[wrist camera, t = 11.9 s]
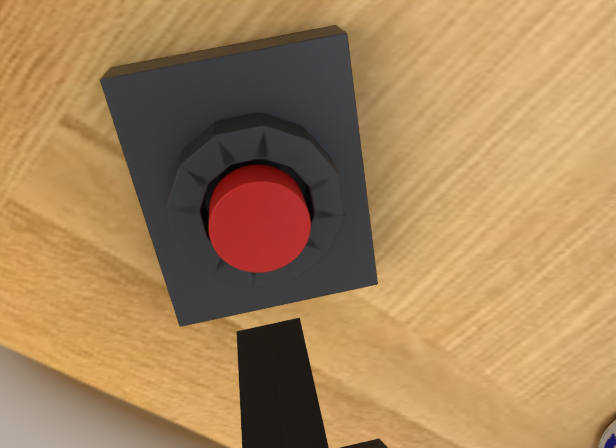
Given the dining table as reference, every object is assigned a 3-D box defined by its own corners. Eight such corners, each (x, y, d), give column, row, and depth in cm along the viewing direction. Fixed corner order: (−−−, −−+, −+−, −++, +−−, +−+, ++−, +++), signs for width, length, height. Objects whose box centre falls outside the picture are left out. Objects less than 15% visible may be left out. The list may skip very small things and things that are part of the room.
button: (199, 174, 21) (197, 193, 19) (296, 155, 21) (302, 171, 19) (221, 258, 22) (221, 282, 21) (311, 240, 23) (318, 262, 21)
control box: (109, 67, 22) (89, 91, 19) (336, 24, 23) (358, 39, 19) (182, 299, 27) (177, 353, 24) (366, 260, 28) (389, 307, 24)
